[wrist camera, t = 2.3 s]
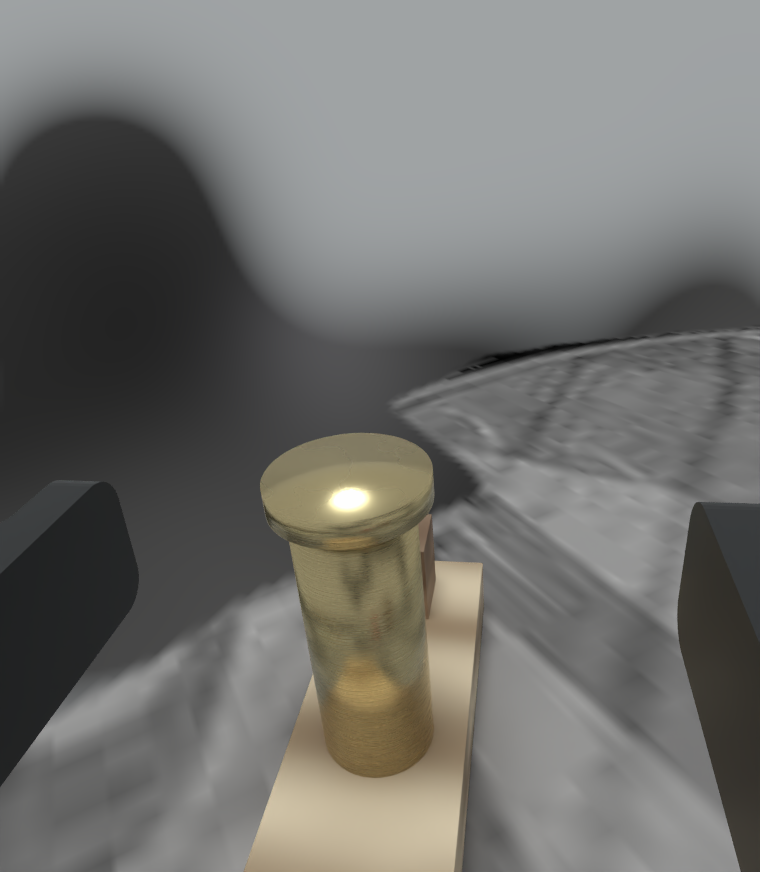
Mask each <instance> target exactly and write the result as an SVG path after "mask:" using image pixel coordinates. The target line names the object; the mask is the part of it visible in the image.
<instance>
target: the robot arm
mask: <svg viewBox="0 0 760 872" xmlns="http://www.w3.org/2000/svg"><path fill="white" fill-rule="evenodd" d="M138 582H139V574H138V567H137V563H136V559H135V556H134V552H133V549H132V545H131V541H130V538H129V534H128V531H127V527H126V523H125V520H124V517H123V513H122V509H121V506H120V502H119V498H118V496H117V493H116V491H115V490H114V488H113V487H112V486H111V485H110V484H108V483H106V482H95V481H94V482H93V481H63V480H58V481H54V482H51V483H50V484H49V485H47V486H46V487H45V488H44V489H43V490H41V491H40V492H39V493H38V494H37V495H36V496H34V497H33V498H32V499H31V500H30V501H29V502H27V503H26V504H25V505H24V506H23V507H22V508H21V509H20V510H19V511H17V512H16V513H15V514H14V515H12V516H11V517H10V518H8V519H6V520H4V521H3V522H1V523H0V786H1V785H2V784H3V782H4V781H5V780H6V778H7V777H8V776H9V774H10V773H11V771H12V770H13V769H14V767H15V766H16V765H17V763H18V762H19V761H20V759H21V758H22V756H23V755H24V754H25V752H26V751H27V750H28V748H29V747H30V746H31V744H32V743H33V742H34V740H35V739H36V737H37V736H38V735H39V733H40V732H41V731H42V729H43V728H44V727H45V725H46V724H47V722H48V721H49V720H50V718H51V717H52V716H53V714H54V713H55V712H56V710H57V709H58V708H59V706H60V705H61V703H62V702H63V701H64V699H65V698H66V697H67V695H68V694H69V693H70V691H71V690H72V688H73V687H74V686H75V684H76V683H77V682H78V680H79V679H80V678H81V676H82V675H83V674H84V672H85V670H86V669H87V668H88V667H89V665H90V664H91V663H92V661H93V660H94V659H95V657H96V656H97V654H98V653H99V652H100V650H101V649H102V647H103V646H104V645H105V643H106V642H107V641H108V639H109V638H110V637H111V635H112V634H113V633H114V631H115V630H116V628H117V627H118V626H119V624H120V623H121V622H122V620H123V619H124V618H125V616H126V615H127V614H128V612H129V611H130V609H131V608H132V605H133V603H134V601H135V598H136V595H137V590H138ZM677 618H678V635H679V643H680V648H681V652H682V656H683V660H684V664H685V667H686V671H687V675H688V678H689V682H690V686H691V689H692V693H693V697H694V700H695V704H696V708H697V711H698V715H699V719H700V723H701V726H702V730H703V734H704V737H705V741H706V745H707V748H708V752H709V756H710V759H711V763H712V767H713V770H714V774H715V778H716V782H717V785H718V789H719V793H720V796H721V800H722V804H723V807H724V811H725V815H726V818H727V822H728V826H729V829H730V833H731V837H732V841H733V844H734V848H735V852H736V855H737V859H738V863H739V866H740V870H741V872H760V504H747V503H715V502H697V503H695V505H694V507H693V509H692V512H691V517H690V523H689V530H688V536H687V543H686V550H685V557H684V564H683V571H682V578H681V584H680V591H679V598H678V614H677Z"/></svg>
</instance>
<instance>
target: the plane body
mask: <svg viewBox="0 0 760 872" xmlns="http://www.w3.org/2000/svg"><path fill="white" fill-rule="evenodd" d="M418 528H419V540H420V553H421V566H422V579H423V592H424V605H425V618H426V631H427V644H428V657H429V670H430V683H431V696H432V709H433V722H434V734H433V739H432V742H431V745H430V747H429V749H428V751H427V752H426V754H425V755H424V756H423V757H422V759H421V760H420V761H419V762H417V763H416V764H415V765H414V766H412V767H411V768H409V769H407V770H406V771H404V772H401V773H399V774H396V775H393V776H389V777H383V778H368V777H362V776H358V775H355V774H353V773H350V772H348V771H346V770H345V769H343V768H342V767H340V766H339V765H338V764H337V763H336V762H335V761H334V760H333V758H332V757H331V755H330V754H329V752H328V749H327V746H326V743H325V737H324V732H323V726H322V721H321V715H320V709H319V704H318V698H317V693H316V687H315V682H314V676H313V675H312V678H311V681H310V684H309V686H308V689H307V692H306V695H305V698H304V701H303V704H302V706H301V709H300V712H299V715H298V718H297V721H296V724H295V726H294V729H293V732H292V735H291V738H290V741H289V744H288V746H287V749H286V752H285V755H284V758H283V761H282V764H281V766H280V769H279V772H278V775H277V778H276V781H275V784H274V786H273V789H272V792H271V795H270V798H269V801H268V803H267V806H266V809H265V812H264V815H263V818H262V821H261V823H260V826H259V829H258V832H257V835H256V838H255V841H254V843H253V846H252V849H251V852H250V855H249V858H248V861H247V863H246V866H245V869H244V872H462V864H463V852H464V840H465V828H466V816H467V804H468V791H469V779H470V767H471V755H472V743H473V731H474V719H475V707H476V695H477V682H478V670H479V658H480V646H481V634H482V622H483V610H484V599H483V563H469V562H446V561H435V558H434V543H433V527H432V515H429V514H427V515H426V517H425V518H424V519H423V520H422V521H421V522H420V523H419V524H418Z"/></svg>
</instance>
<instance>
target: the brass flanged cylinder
mask: <svg viewBox="0 0 760 872" xmlns="http://www.w3.org/2000/svg"><path fill="white" fill-rule="evenodd" d="M260 490H261V494H262V500H263V506H264V511H265V516H266V519H267V522H268V524H269V526H270V527H271V528H272V529H273V531H274V532H275V533H277V534H278V535H279V536H280V537H282V538H284V539H286V540H287V541H289V544H290V548H291V554H292V560H293V566H294V571H295V577H296V582H297V588H298V593H299V599H300V604H301V610H302V616H303V621H304V627H305V632H306V638H307V643H308V649H309V654H310V660H311V665H312V671H313V676H314V682H315V687H316V693H317V698H318V704H319V709H320V715H321V721H322V726H323V732H324V737H325V743H326V746H327V749H328V752H329V754H330V755H331V757H332V758H333V760H334V761H335V762H336V763H337V764H338V765H339V766H340V767H342V768H343V769H345V770H346V771H348V772H350V773H353V774H355V775H358V776H362V777H368V778H383V777H389V776H393V775H396V774H399V773H401V772H404V771H406V770H407V769H409V768H411V767H412V766H414V765H415V764H416V763H417V762H419V761H420V760H421V759H422V757H423V756H424V755H425V754H426V752H427V751H428V749H429V747H430V745H431V742H432V739H433V734H434V722H433V709H432V696H431V683H430V670H429V657H428V644H427V631H426V618H425V605H424V592H423V579H422V566H421V553H420V540H419V528H418V524H419V523H420V522H421V521H422V520H423V519H424V518H425V517H426V515H427V514H428V513H429V511H430V509H431V507H432V505H433V501H434V482H433V468H432V463H431V460H430V458H429V456H428V455H427V454H426V452H425V451H423V450H422V449H421V448H420V447H418V446H417V445H415V444H413V443H411V442H409V441H407V440H404V439H401V438H398V437H394V436H390V435H384V434H375V433H350V434H341V435H334V436H329V437H324V438H320V439H316V440H313V441H310V442H307V443H304V444H302V445H299V446H297V447H295V448H293V449H291V450H289V451H287V452H286V453H284V454H282V455H281V456H280V457H278V458H277V459H276V460H274V461H273V462H272V463H271V464H270V465H269V467H268V468H267V469H266V470H265V472H264V474H263V476H262V478H261V482H260Z"/></svg>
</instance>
